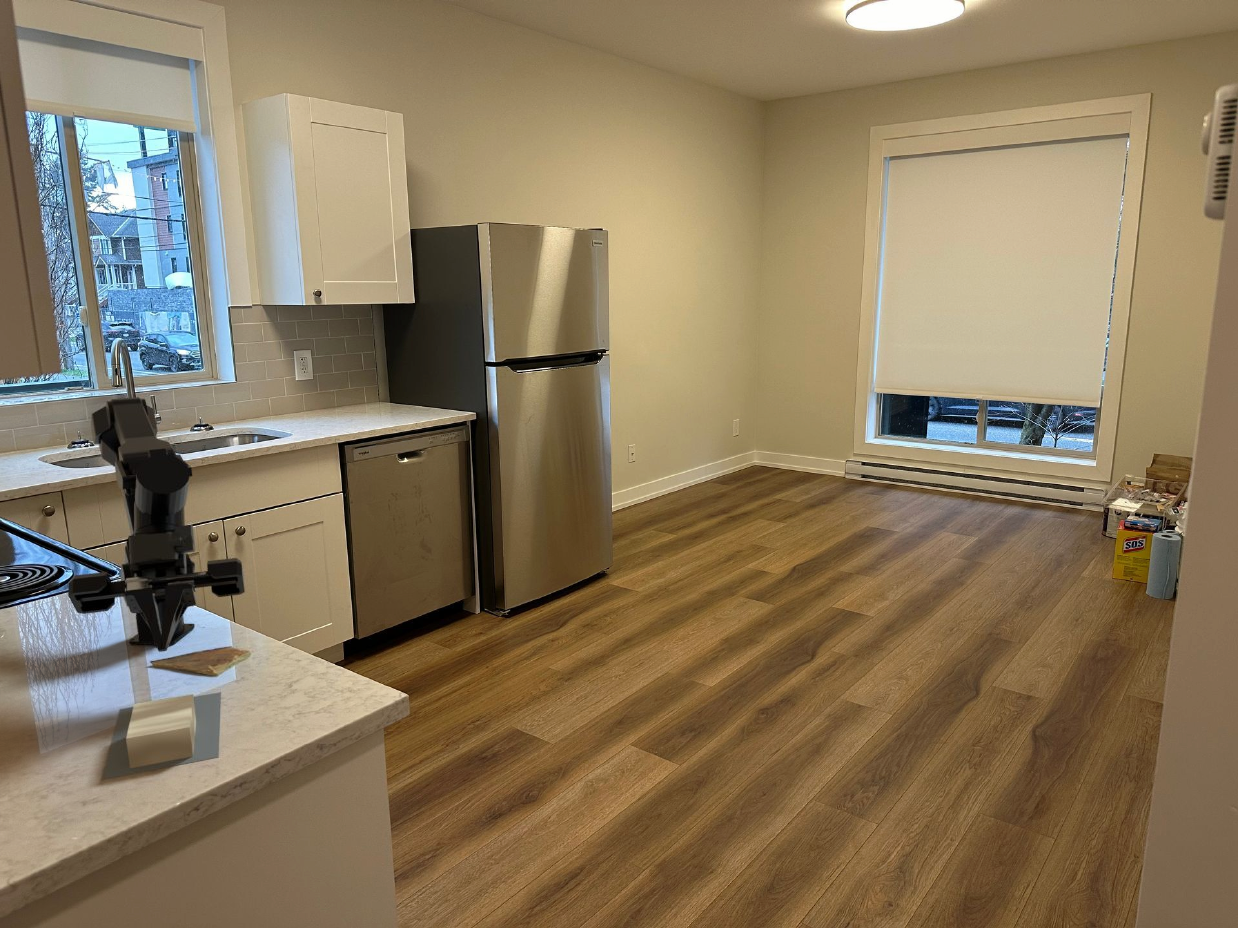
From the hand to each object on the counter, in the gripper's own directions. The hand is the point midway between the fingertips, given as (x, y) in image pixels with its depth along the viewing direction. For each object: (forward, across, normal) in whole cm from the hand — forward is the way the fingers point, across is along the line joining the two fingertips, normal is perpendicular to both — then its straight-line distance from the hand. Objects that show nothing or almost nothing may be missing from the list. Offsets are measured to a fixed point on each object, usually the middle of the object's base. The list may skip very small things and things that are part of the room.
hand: (162, 650), depth 102 cm
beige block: (+8, 0, 0) cm, 8 cm away
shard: (-1, +3, +13) cm, 14 cm away
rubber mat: (+10, 0, +1) cm, 10 cm away
